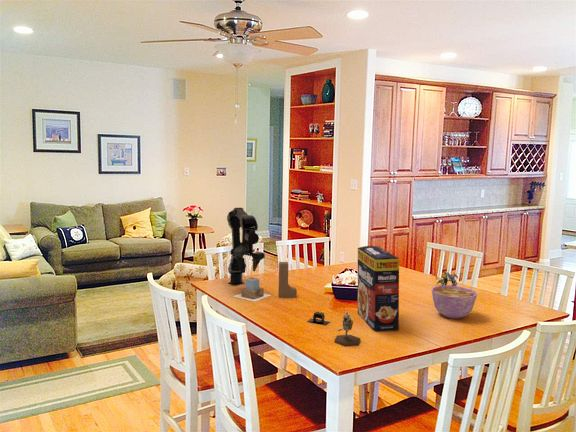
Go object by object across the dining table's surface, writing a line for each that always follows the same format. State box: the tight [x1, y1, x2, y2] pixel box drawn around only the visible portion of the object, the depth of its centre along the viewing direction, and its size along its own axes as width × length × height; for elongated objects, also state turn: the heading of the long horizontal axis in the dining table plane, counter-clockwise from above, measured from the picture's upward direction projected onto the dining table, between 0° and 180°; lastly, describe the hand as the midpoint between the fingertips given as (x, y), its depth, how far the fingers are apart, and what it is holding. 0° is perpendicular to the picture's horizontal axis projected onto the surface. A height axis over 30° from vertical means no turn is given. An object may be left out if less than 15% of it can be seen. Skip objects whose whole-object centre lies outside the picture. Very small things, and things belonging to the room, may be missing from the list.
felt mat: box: [232, 293, 271, 302], centre depth 254 cm, size 14×14×1 cm
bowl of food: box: [431, 285, 478, 319], centre depth 229 cm, size 20×20×12 cm
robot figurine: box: [333, 312, 361, 347], centre depth 194 cm, size 11×9×12 cm
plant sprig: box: [435, 270, 459, 286], centre depth 278 cm, size 11×11×12 cm
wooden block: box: [277, 261, 298, 299], centre depth 253 cm, size 9×4×18 cm, turn 95°
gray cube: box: [244, 277, 260, 291], centre depth 252 cm, size 5×5×5 cm
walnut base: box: [240, 287, 265, 300], centre depth 252 cm, size 8×8×4 cm
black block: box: [306, 311, 331, 326], centre depth 217 cm, size 12×7×5 cm, turn 63°
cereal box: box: [357, 245, 400, 332], centre depth 217 cm, size 27×11×32 cm, turn 8°
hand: (247, 269), depth 259 cm, fingers open, 9 cm apart
